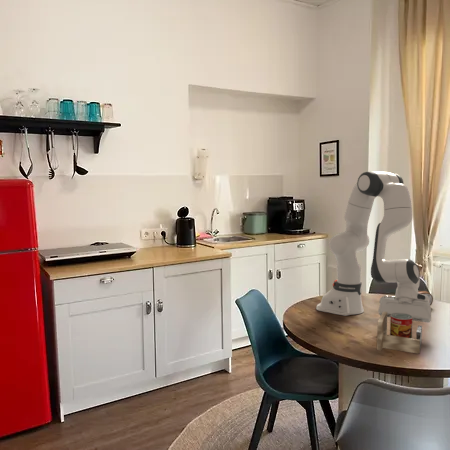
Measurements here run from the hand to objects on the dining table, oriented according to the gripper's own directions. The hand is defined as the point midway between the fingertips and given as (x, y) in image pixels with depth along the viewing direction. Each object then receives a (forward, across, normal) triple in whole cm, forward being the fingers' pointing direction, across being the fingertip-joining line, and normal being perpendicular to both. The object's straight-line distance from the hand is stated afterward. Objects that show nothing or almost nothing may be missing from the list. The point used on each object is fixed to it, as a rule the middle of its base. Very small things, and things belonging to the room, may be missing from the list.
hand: (402, 327), depth 177 cm
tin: (-29, +2, +35) cm, 46 cm away
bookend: (+8, +7, -2) cm, 10 cm away
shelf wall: (+10, 0, -5) cm, 11 cm away
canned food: (+9, 0, -3) cm, 10 cm away
